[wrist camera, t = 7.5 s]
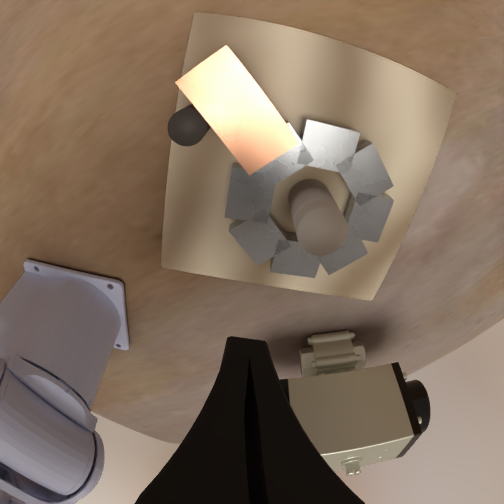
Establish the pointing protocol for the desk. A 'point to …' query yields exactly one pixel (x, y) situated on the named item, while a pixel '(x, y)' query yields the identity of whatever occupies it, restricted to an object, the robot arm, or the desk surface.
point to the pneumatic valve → (355, 404)
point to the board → (307, 178)
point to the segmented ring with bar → (284, 167)
